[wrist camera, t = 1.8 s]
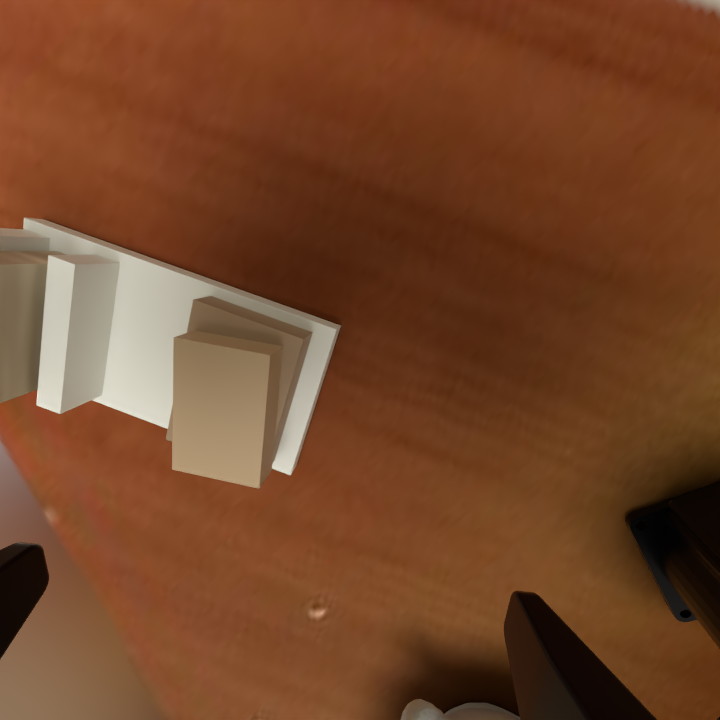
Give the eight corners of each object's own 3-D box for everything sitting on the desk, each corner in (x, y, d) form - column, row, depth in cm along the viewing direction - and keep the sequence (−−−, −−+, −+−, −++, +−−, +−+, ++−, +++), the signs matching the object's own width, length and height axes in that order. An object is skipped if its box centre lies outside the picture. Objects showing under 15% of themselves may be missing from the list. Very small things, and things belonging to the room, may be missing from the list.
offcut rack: (340, 325, 19) (320, 344, 15) (296, 465, 21) (269, 512, 17) (43, 219, 19) (-50, 211, 16) (32, 365, 22) (-50, 389, 18)
